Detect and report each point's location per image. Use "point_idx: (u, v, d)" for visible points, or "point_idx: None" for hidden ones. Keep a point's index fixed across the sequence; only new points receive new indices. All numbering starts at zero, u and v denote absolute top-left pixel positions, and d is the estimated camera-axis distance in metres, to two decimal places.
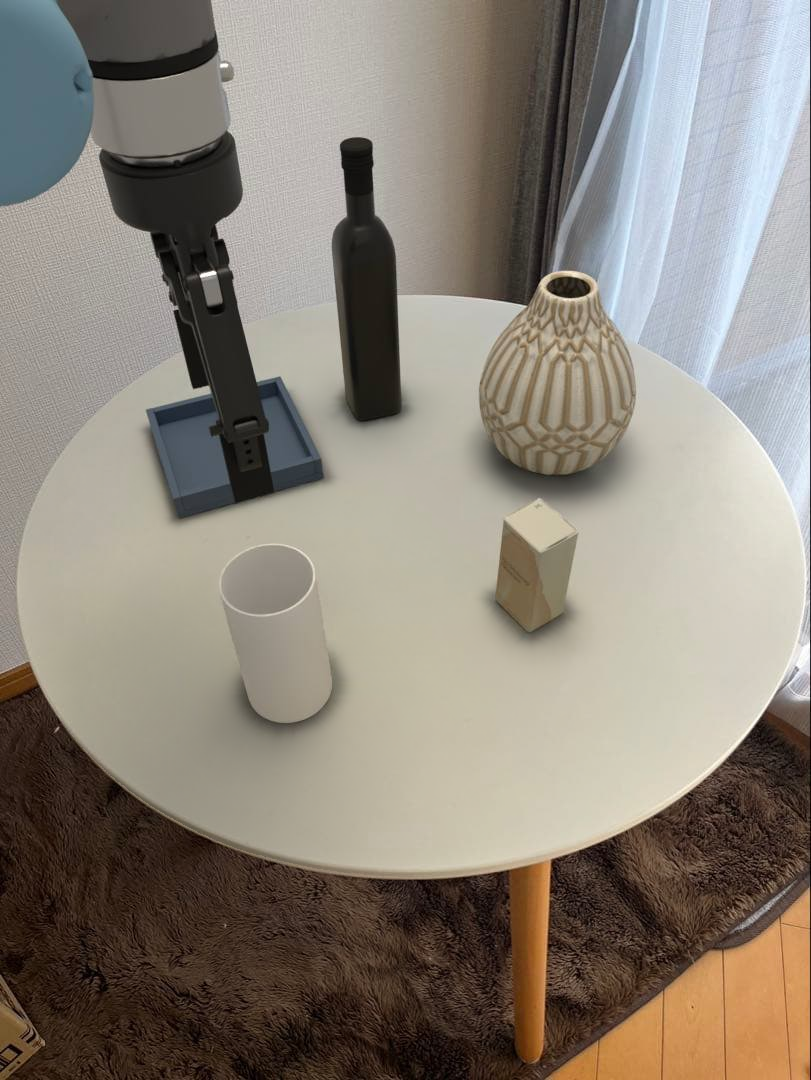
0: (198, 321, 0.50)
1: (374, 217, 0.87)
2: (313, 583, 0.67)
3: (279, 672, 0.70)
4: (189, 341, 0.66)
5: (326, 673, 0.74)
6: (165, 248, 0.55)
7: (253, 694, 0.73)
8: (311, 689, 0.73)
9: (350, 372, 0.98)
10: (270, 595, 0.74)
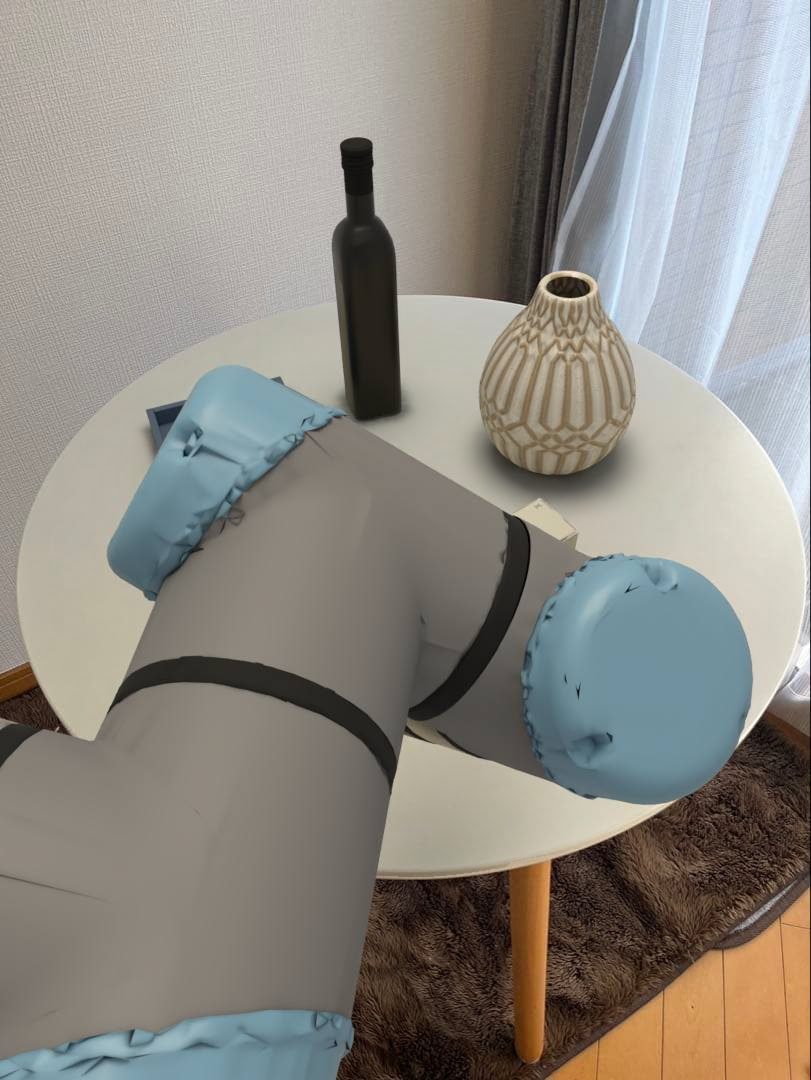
0: None
1: (374, 217, 0.87)
2: None
3: None
4: None
5: None
6: None
7: None
8: None
9: (350, 372, 0.98)
10: None
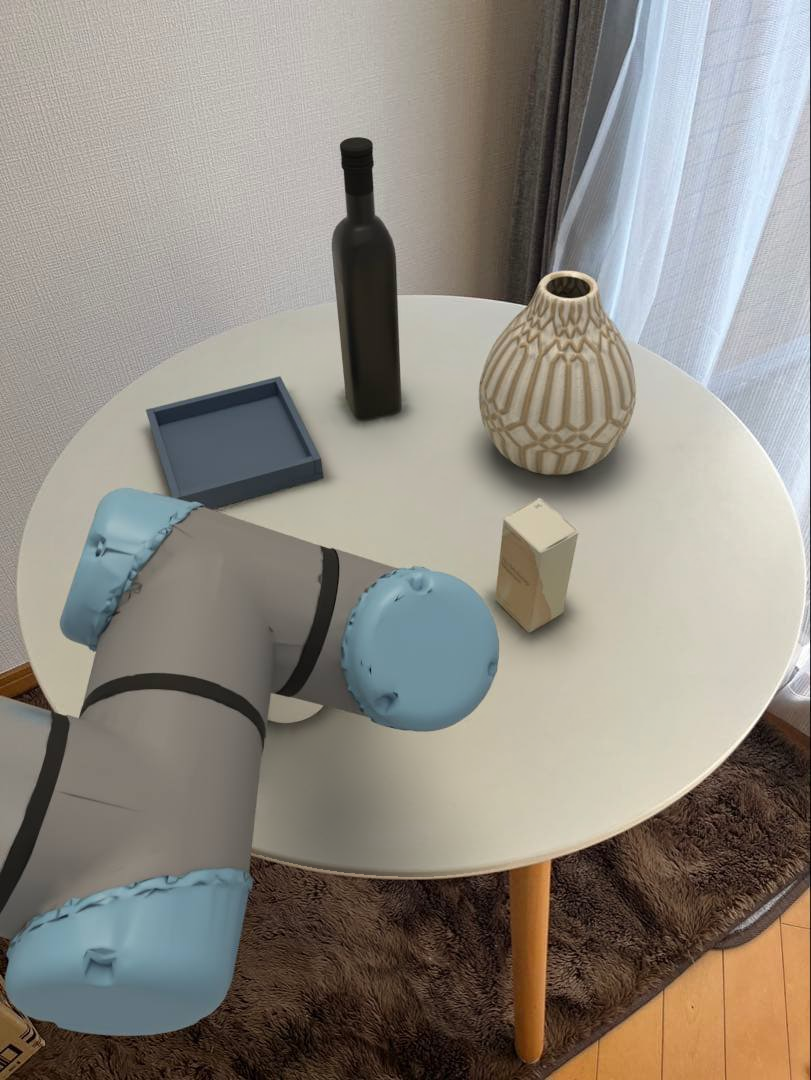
0: None
1: (374, 217, 0.87)
2: None
3: None
4: None
5: None
6: None
7: None
8: None
9: (350, 372, 0.98)
10: None
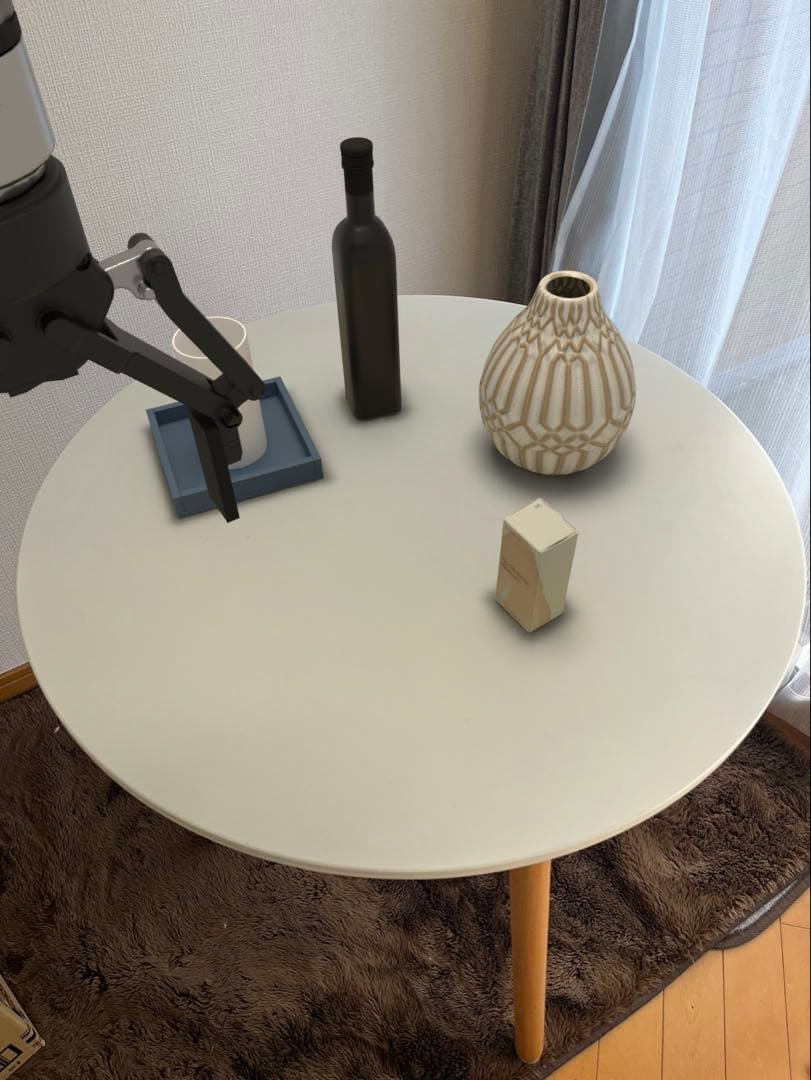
0: None
1: (374, 217, 0.87)
2: (244, 339, 0.87)
3: None
4: (198, 445, 0.49)
5: (260, 429, 0.95)
6: None
7: None
8: (247, 438, 0.94)
9: (350, 372, 0.98)
10: None
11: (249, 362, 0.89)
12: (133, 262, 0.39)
